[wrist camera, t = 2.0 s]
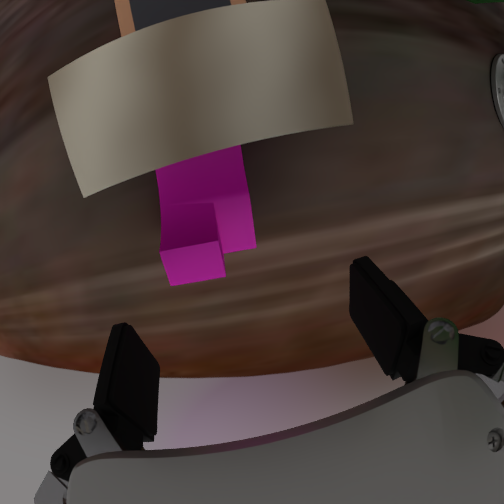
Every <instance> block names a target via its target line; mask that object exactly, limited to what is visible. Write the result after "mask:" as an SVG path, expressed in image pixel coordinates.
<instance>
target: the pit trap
mask: <svg viewBox="0 0 504 504" xmlns="http://www.w3.org/2000/svg"><path fill="white" fill-rule="evenodd" d="M243 3H246V0H115V6H116V11H117V17H118V22H119V27H120V32H121V36H122V37H123V36H126V35H128V34H130V33H133V32H135V31H138V30H141V29H143V28H146V27H149V26H152V25H154V24H157V23H160V22H164V21H167V20H170V19H173V18H177V17H180V16H184V15H188V14H192V13H196V12H200V11H204V10H209V9H214V8H219V7H224V6H230V5H236V4H243Z"/></svg>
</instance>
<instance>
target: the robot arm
mask: <svg viewBox="0 0 504 504" xmlns="http://www.w3.org/2000/svg"><path fill="white" fill-rule="evenodd" d="M491 85H492V93H493V99H494V104H495V108H496V111H497V114H498V117H499V119H500V122H501V124H502V125H503V127H504V54H498V55H496V57H495V58H494V60H493V63H492V69H491ZM349 312H350V316H351V318H352V320H353V322H354V323H355V325H356V327H357V328H358V330H359V331H360V333H361V335H362V336H363V338H364V340H365V341H366V343H367V345H368V346H369V348H370V350H371V351H372V353H373V355H374V356H375V358H376V360H377V361H378V363H379V365H380V366H381V368H382V370H383V372H384V373H385V374H386V375H387V376H388V375H390V376H391V378H392V380H395V379H397V378H399V377H402V379H403V380H404V381H405V385H404V386H402V387H400V388H397V389H395V390H393V391H391V392H389V393H387V394H384V395H382V396H380V397H378V398H375V399H373V400H371V401H368V402H366V403H363V404H361V405H358V406H356V407H353V408H351V409H348V410H346V411H343V412H340V413H338V414H335V415H332V416H330V417H327V418H324V419H321V420H317V421H315V422H311V423H308V424H305V425H301V426H298V427H294V428H291V429H287V430H284V431H280V432H276V433H272V434H267V435H263V436H259V437H254V438H249V439H244V440H239V441H233V442H227V443H221V444H214V445H207V446H199V447H189V448H179V449H163V450H145V449H144V447H143V442H153V441H154V435H156V434H157V412H158V392H159V391H158V390H159V377H160V366H159V364H158V362H157V360H156V359H155V358H154V356H153V355H152V354H151V352H150V351H149V350H148V348H147V347H146V346H145V344H144V343H143V341H142V340H141V339H140V337H139V336H138V334H137V333H136V331H135V330H134V328H133V327H132V326H131V325H128V324H127V323H120V324H115V325H113V327H112V330H111V333H110V336H109V340H108V343H107V347H106V351H105V354H104V358H103V362H102V366H101V370H100V374H99V379H98V383H97V387H96V392H95V397H94V402H93V405H94V409H90V408H87V409H83V410H82V411H80V412H79V413H78V414H77V416H76V417H75V419H74V423H73V429H74V432H75V434H74V435H73V436H71V437H70V438H69V439H68V440H67V441H66V442H65V443H64V444H63V445H62V446H61V447H60V448H59V449H57V450H56V451H55V452H54V454H53V455H52V457H51V462H50V465H51V469H52V472H50V471H48V473H47V475H46V477H45V478H44V480H43V482H42V484H41V485H40V487H39V489H38V491H37V493H36V495H35V498H34V503H35V504H504V349H503V347H502V346H501V344H500V343H498V342H497V341H495V340H492V339H486V338H480V337H475V336H470V335H465V334H459V333H458V329H457V327H456V325H455V324H454V323H453V322H452V321H450V320H448V319H445V318H434V319H431V320H430V321H428V320H427V319H426V317H425V316H424V315H423V314H422V313H421V312H420V310H419V309H418V308H417V307H416V306H415V305H414V303H413V302H412V301H411V300H410V299H409V298H408V297H407V295H406V294H405V293H404V292H403V291H402V290H401V289H400V288H399V287H398V285H397V284H396V283H395V282H394V281H392V280H389V279H388V278H387V277H386V276H385V274H384V273H383V272H382V271H381V270H380V269H379V268H378V267H377V266H376V265H375V264H374V263H373V262H372V261H371V260H370V259H369V257H367V256H364V257H361V258H358V259H355V260H353V264H351V265H350V304H349Z"/></svg>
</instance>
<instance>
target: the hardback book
mask: <svg viewBox="0 0 504 504" xmlns="http://www.w3.org/2000/svg"><path fill="white" fill-rule="evenodd" d="M467 1H470V2H472V3H475V4H477V3H490V2H504V0H467Z"/></svg>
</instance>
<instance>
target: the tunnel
mask: <svg viewBox="0 0 504 504" xmlns="http://www.w3.org/2000/svg"><path fill="white" fill-rule="evenodd" d="M48 82H49V87H50V91H51V96H52V100H53V105H54V109H55V113H56V116H57V120H58V124H59V127H60V131H61V134H62V138H63V141H64V144H65V147H66V151H67V154H68V157H69V160H70V162H71V165H72V168H73V171H74V174H75V176H76V179H77V182H78V184H79V187H80V190H81V192H82V195H83V197H84V198H85V197H87V196H89V195H91V194H94V193H96V192H98V191H101V190H103V189H106V188H108V187H110V186H113V185H115V184H118V183H120V182H123V181H126V180H128V179H131V178H133V177H136V176H139V175H142V174H144V173H147V172H150V171H153V170H156V169H159V168H162V167H165V166H168V165H171V164H174V163H177V162H180V161H183V160H186V159H190V158H193V157H196V156H200V155H203V154H207V153H210V152H214V151H218V150H221V149H225V148H229V147H233V146H237V145H241V144H245V143H249V142H254V141H258V140H262V139H267V138H272V137H277V136H282V135H287V134H292V133H298V132H303V131H309V130H315V129H322V128H329V127H336V126H343V125H352V124H353V117H352V110H351V104H350V98H349V93H348V87H347V82H346V77H345V72H344V67H343V63H342V58H341V54H340V50H339V46H338V42H337V38H336V34H335V30H334V27H333V23H332V20H331V17H330V13H329V10H328V7H327V4H326V1H325V0H272V1H260V2H251V3H243V4H236V5H230V6H224V7H219V8H214V9H209V10H204V11H200V12H196V13H192V14H188V15H184V16H180V17H177V18H173V19H170V20H167V21H164V22H160V23H157V24H154V25H152V26H149V27H146V28H143V29H141V30H138V31H135V32H133V33H130V34H128V35H126V36H123V37H121V38H119V39H116V40H114V41H112V42H110V43H108V44H105V45H103V46H101V47H99V48H97V49H95V50H93V51H91V52H89V53H88V54H86V55H84V56H82V57H80V58H78V59H77V60H75V61H73V62H71V63H70V64H68V65H66V66H65V67H63V68H61V69H60V70H58V71H57V72H55V73H54V74H52V75H50V76H49V77H48Z"/></svg>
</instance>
